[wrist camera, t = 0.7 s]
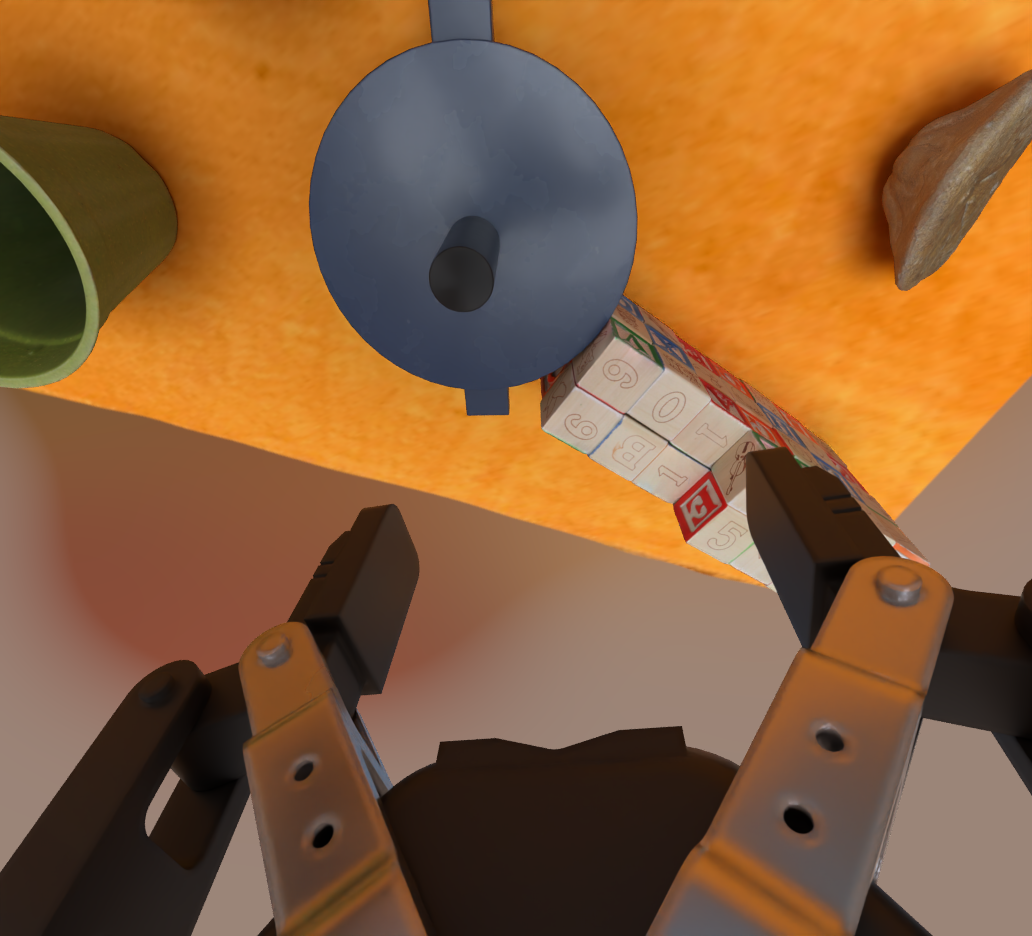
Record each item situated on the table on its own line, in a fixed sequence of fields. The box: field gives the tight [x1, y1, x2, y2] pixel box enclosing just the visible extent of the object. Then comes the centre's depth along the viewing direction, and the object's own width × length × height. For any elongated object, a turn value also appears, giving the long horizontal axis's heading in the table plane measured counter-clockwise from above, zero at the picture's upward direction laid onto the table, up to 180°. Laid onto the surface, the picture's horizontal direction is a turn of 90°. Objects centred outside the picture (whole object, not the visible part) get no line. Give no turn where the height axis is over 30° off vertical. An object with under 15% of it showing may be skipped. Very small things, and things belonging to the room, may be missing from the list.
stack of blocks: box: [540, 295, 930, 592], centre depth 32 cm, size 21×6×12 cm, turn 56°
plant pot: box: [0, 115, 177, 388], centre depth 26 cm, size 12×12×11 cm
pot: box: [428, 0, 509, 416], centre depth 28 cm, size 14×19×7 cm
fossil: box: [882, 70, 1032, 291], centre depth 27 cm, size 9×4×10 cm
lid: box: [309, 39, 637, 390], centre depth 23 cm, size 15×15×7 cm
